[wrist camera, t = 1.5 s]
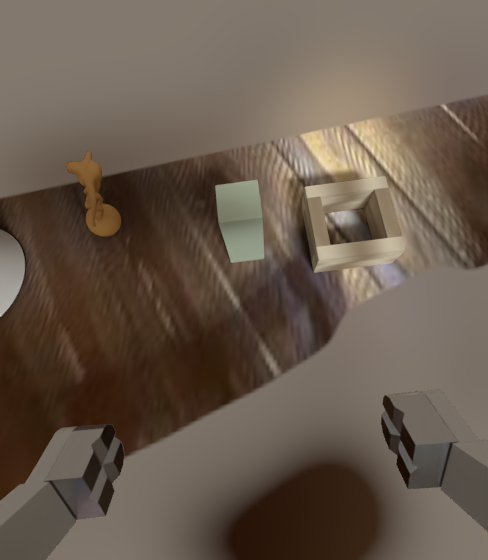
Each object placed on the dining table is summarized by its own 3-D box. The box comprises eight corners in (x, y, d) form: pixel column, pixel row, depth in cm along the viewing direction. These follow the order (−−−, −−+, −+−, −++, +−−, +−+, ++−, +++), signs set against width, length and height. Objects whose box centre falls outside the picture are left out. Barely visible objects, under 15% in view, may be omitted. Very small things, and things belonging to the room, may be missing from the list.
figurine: (94, 204, 42) (28, 138, 30) (137, 193, 42) (88, 123, 30) (99, 260, 39) (29, 210, 28) (146, 248, 39) (95, 194, 28)
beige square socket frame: (313, 272, 36) (318, 259, 33) (301, 205, 39) (304, 186, 35) (391, 263, 36) (406, 249, 32) (373, 195, 39) (384, 176, 35)
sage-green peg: (231, 262, 38) (218, 223, 28) (228, 232, 39) (215, 185, 29) (264, 258, 37) (262, 217, 28) (260, 228, 39) (257, 179, 29)
